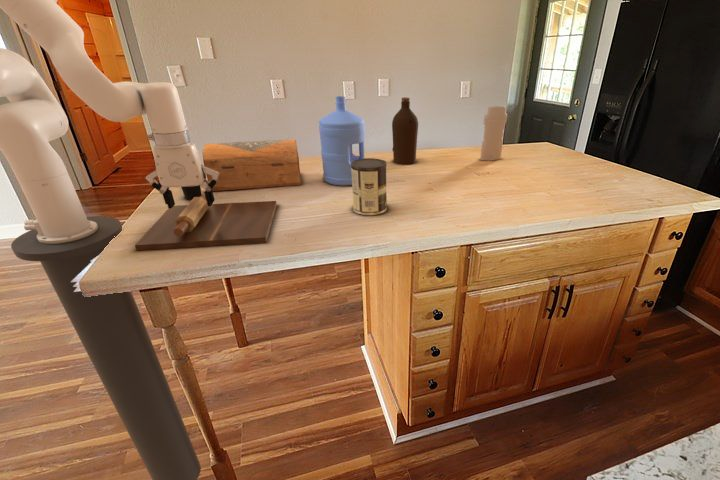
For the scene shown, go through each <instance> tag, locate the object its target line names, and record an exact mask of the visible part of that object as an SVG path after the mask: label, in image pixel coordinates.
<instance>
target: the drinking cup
mask: <svg viewBox="0 0 720 480" xmlns="http://www.w3.org/2000/svg"><path fill="white" fill-rule="evenodd" d="M180 188H181V192H182V195H183V197H184V199H185V200H188V201H191V200H192V199H193V198H194V197H200V196H201V195H203V194H202V187H201V186H200V185H199V186H188V187H180Z"/></svg>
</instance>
